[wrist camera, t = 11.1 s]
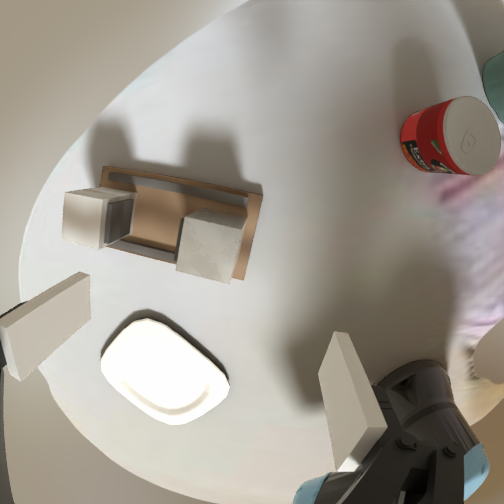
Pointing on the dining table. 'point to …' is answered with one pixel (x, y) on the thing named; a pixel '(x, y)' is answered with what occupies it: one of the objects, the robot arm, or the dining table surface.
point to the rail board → (150, 213)
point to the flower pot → (495, 83)
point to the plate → (163, 372)
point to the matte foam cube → (210, 243)
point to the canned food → (452, 138)
